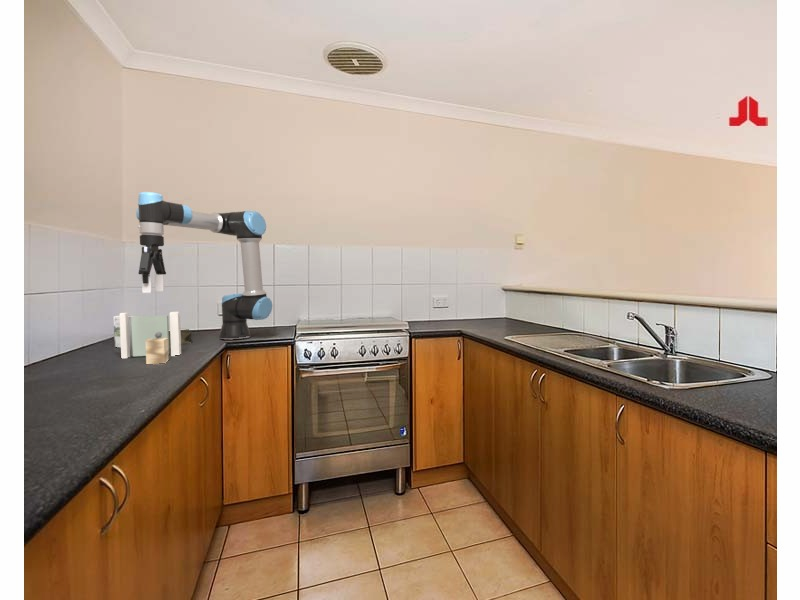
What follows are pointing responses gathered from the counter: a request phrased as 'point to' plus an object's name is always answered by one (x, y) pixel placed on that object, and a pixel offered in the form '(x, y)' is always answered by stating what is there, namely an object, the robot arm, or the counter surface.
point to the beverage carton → (184, 336)
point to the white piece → (174, 334)
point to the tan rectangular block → (157, 351)
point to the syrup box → (118, 330)
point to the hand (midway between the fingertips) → (153, 292)
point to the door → (146, 332)
